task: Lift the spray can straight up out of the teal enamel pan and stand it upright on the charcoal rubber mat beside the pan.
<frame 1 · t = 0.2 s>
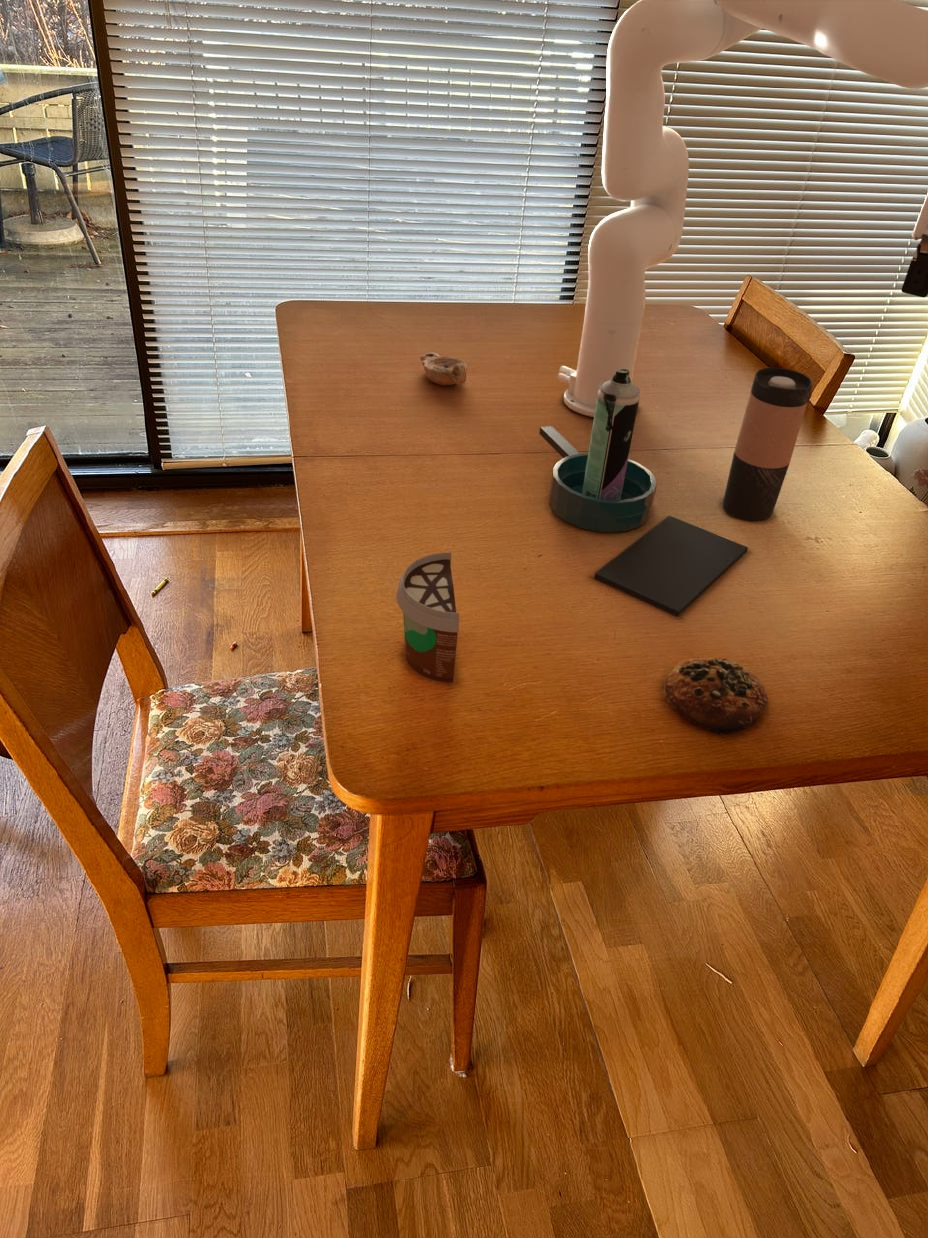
hand: (924, 286, 122), 31 cm above the table, tool pointing down, fingers open, 9 cm apart
pan: (599, 507, 133), on the table
oil lamp: (444, 382, 166), on the table
food container: (422, 656, 104), on the table
travel mug: (746, 510, 135), on the table
mat: (672, 564, 122), on the table
bread roll: (712, 701, 101), on the table
spray can: (599, 506, 133), resting on pan
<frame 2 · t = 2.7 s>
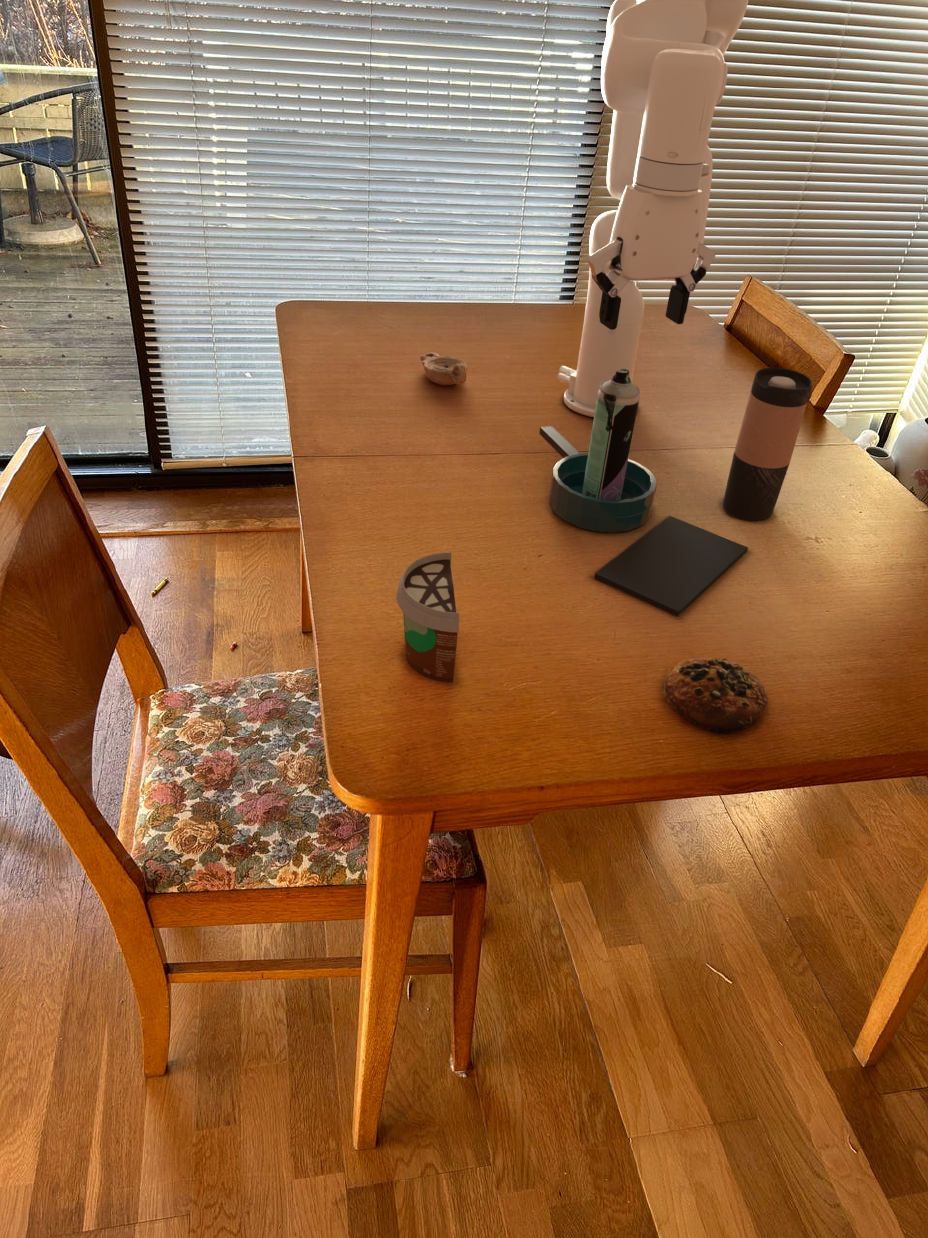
hand: (641, 323, 117), 27 cm above the table, tool pointing down, fingers open, 9 cm apart
nothing on the table moved.
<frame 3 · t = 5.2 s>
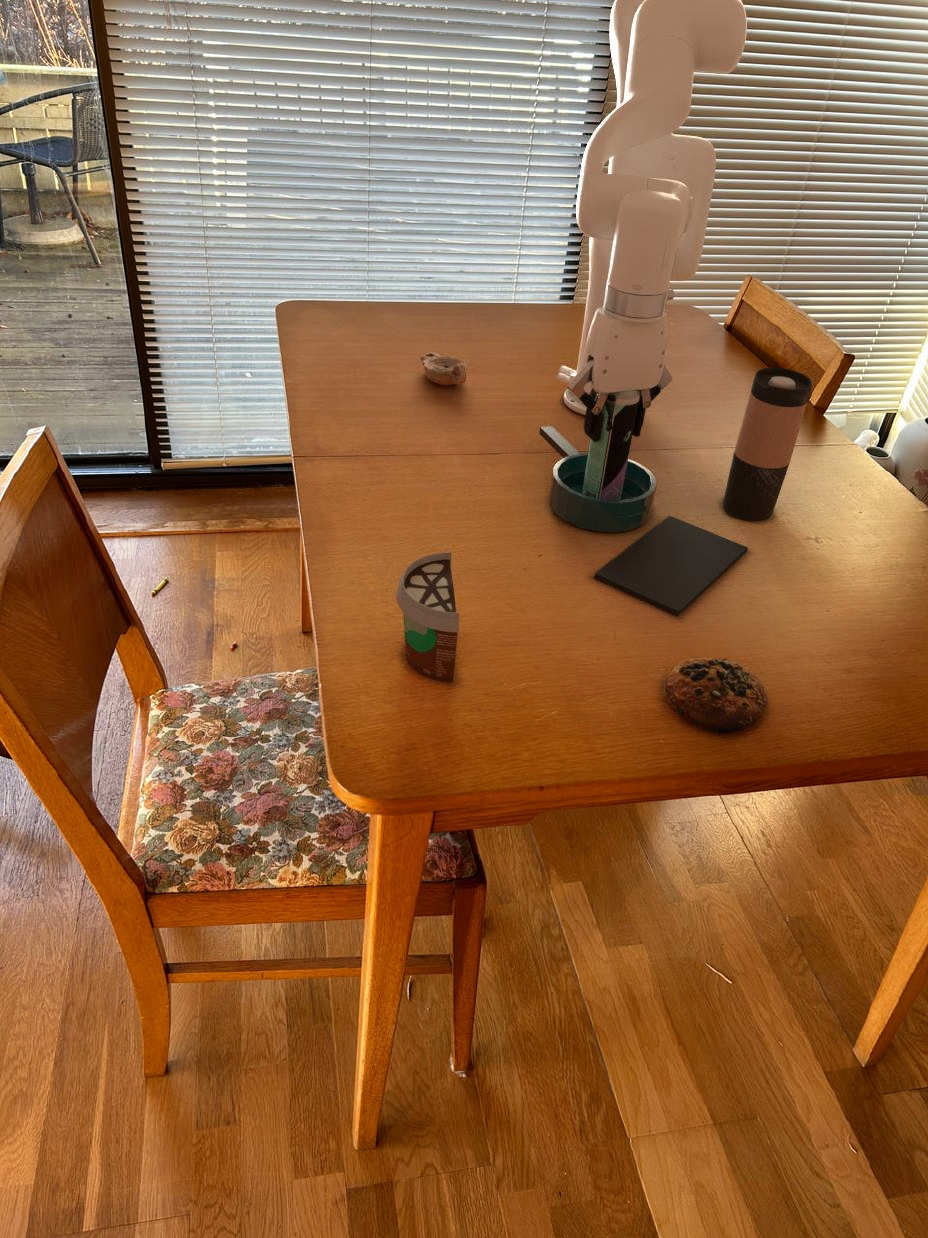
hand: (612, 433, 126), 12 cm above the table, tool pointing down, fingers closed on spray can, 5 cm apart
spray can: (599, 506, 133), resting on pan, touching gripper
everything else where it was.
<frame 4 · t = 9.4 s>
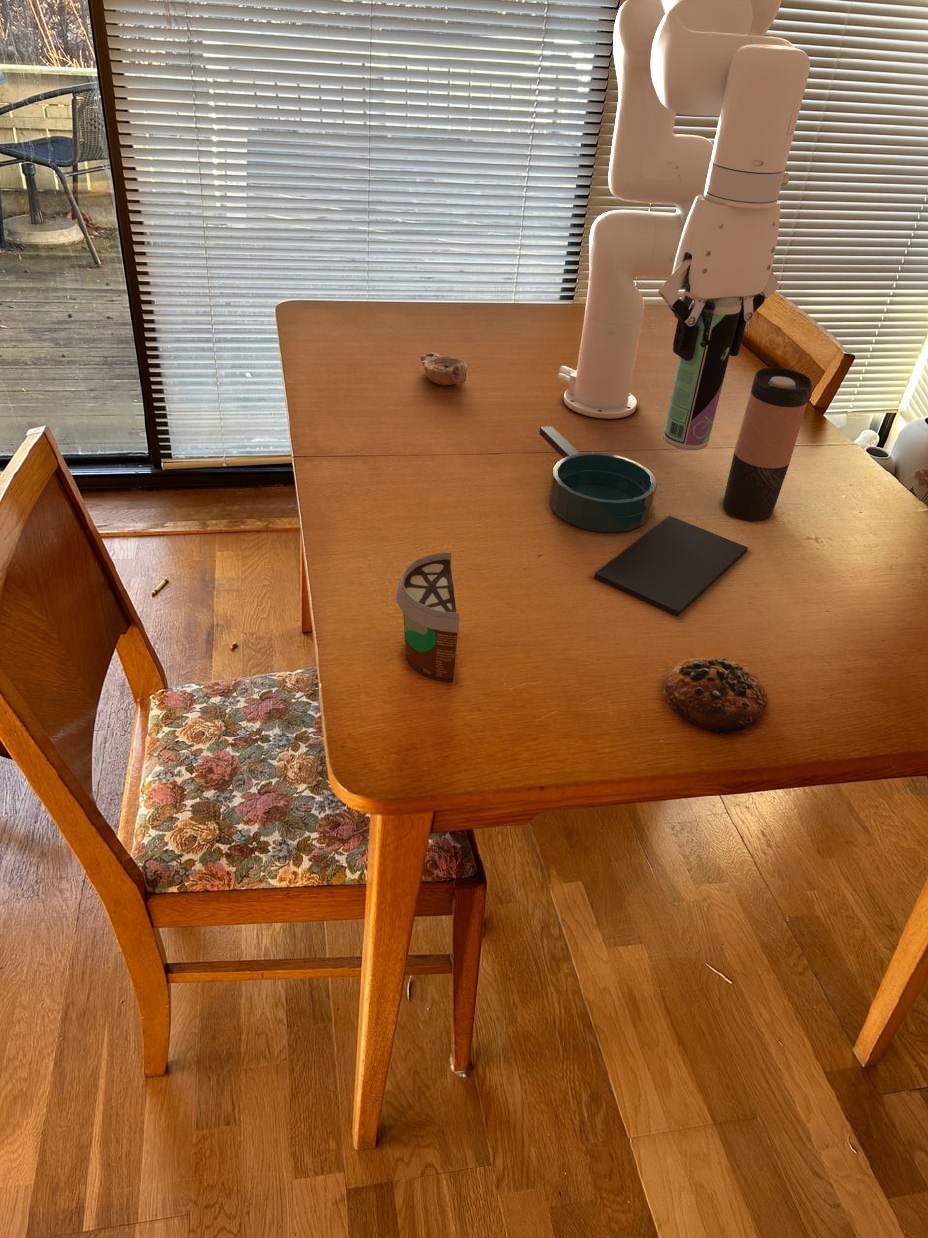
hand: (705, 352, 107), 28 cm above the table, tool pointing down, fingers closed on spray can, 5 cm apart
spray can: (685, 441, 114), point 16 cm above the table, touching gripper
everything else where it was.
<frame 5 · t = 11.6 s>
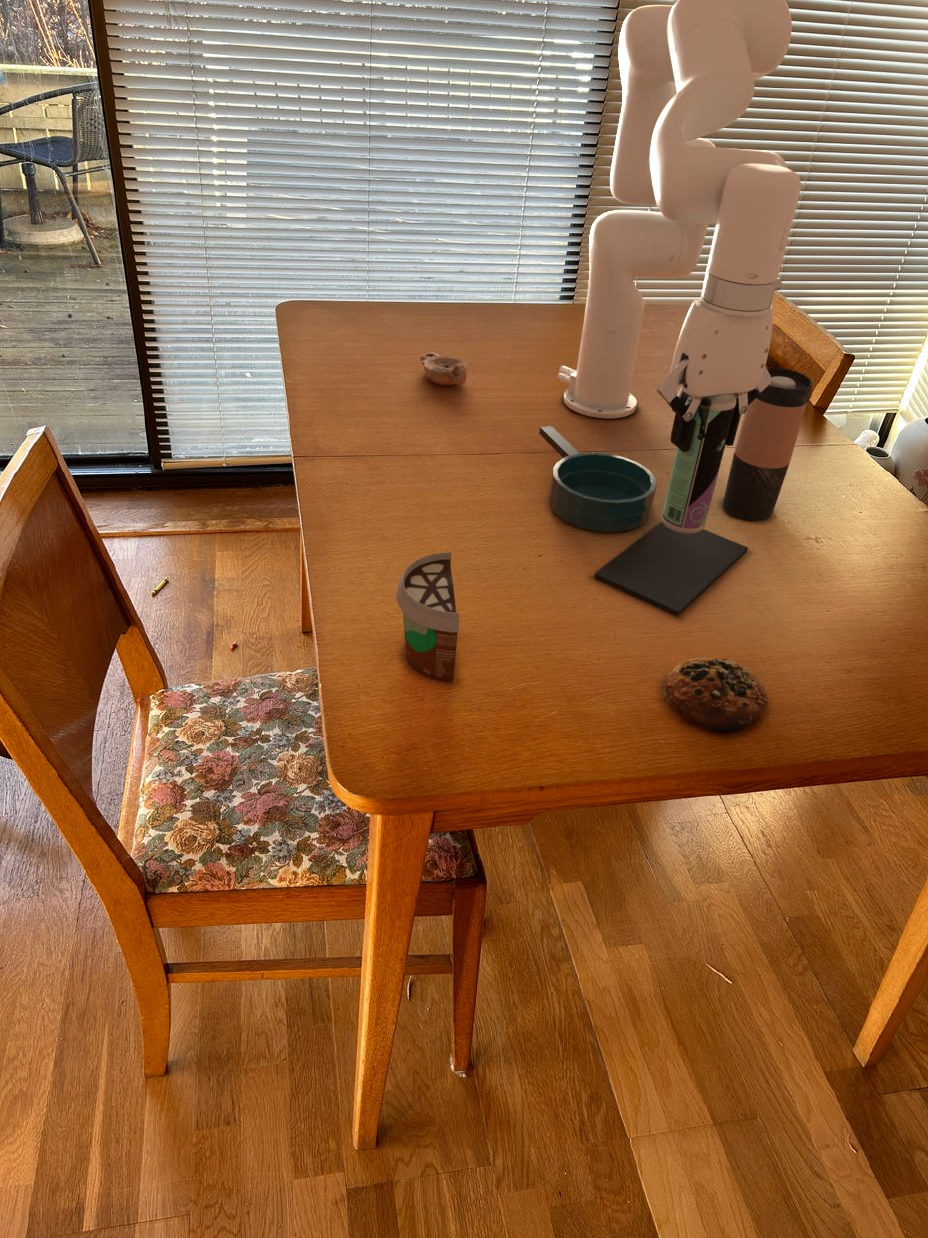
hand: (701, 442, 111), 18 cm above the table, tool pointing down, fingers closed on spray can, 5 cm apart
spray can: (682, 523, 118), point 6 cm above the table, touching gripper
everything else where it was.
when the fingers open (12 cm above the table, at t = 13.4 s): spray can stays where it is, resting on mat.
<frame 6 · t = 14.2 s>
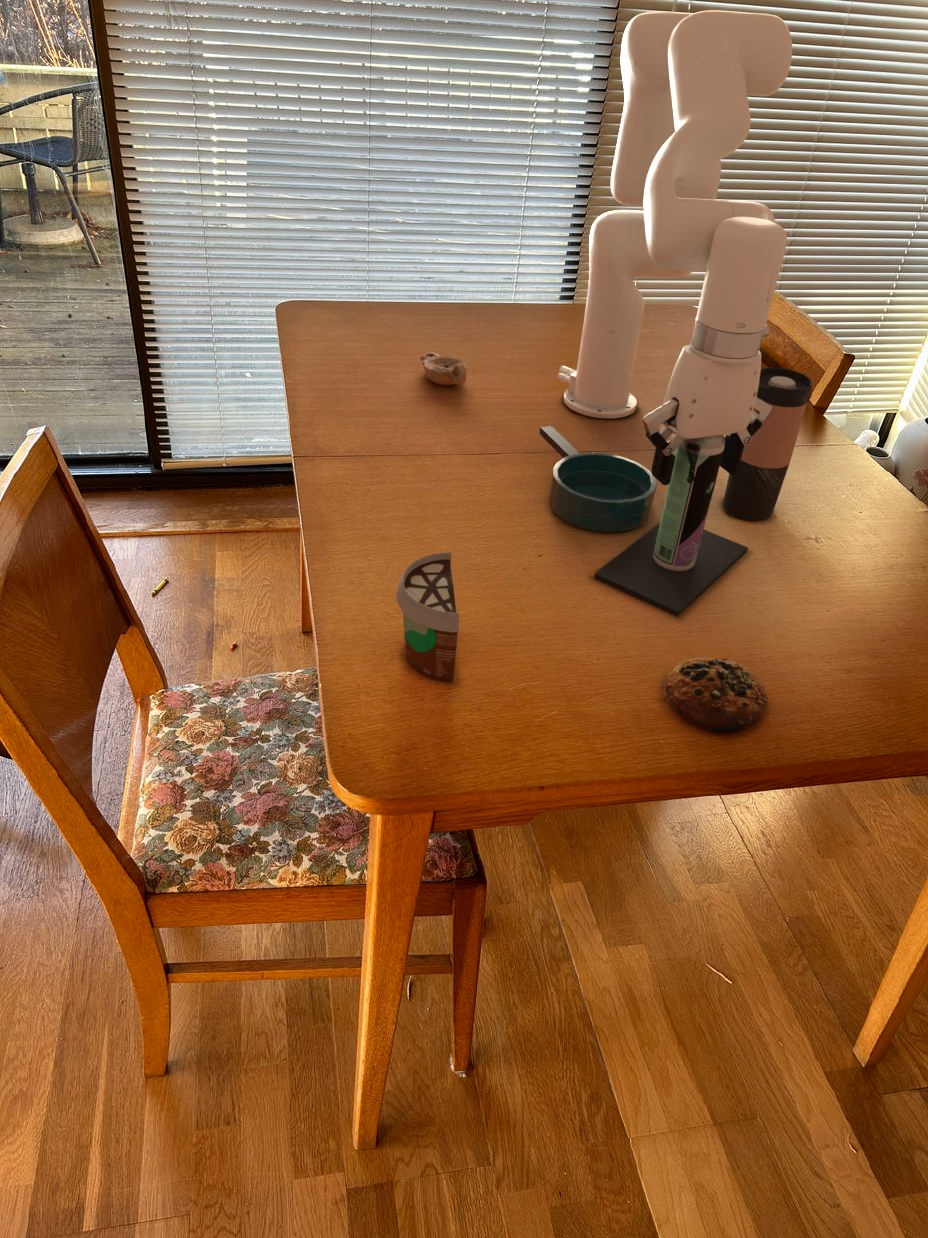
hand: (694, 474, 114), 13 cm above the table, tool pointing down, fingers open, 9 cm apart
spray can: (673, 560, 122), point 1 cm above the table, touching mat
everything else where it was.
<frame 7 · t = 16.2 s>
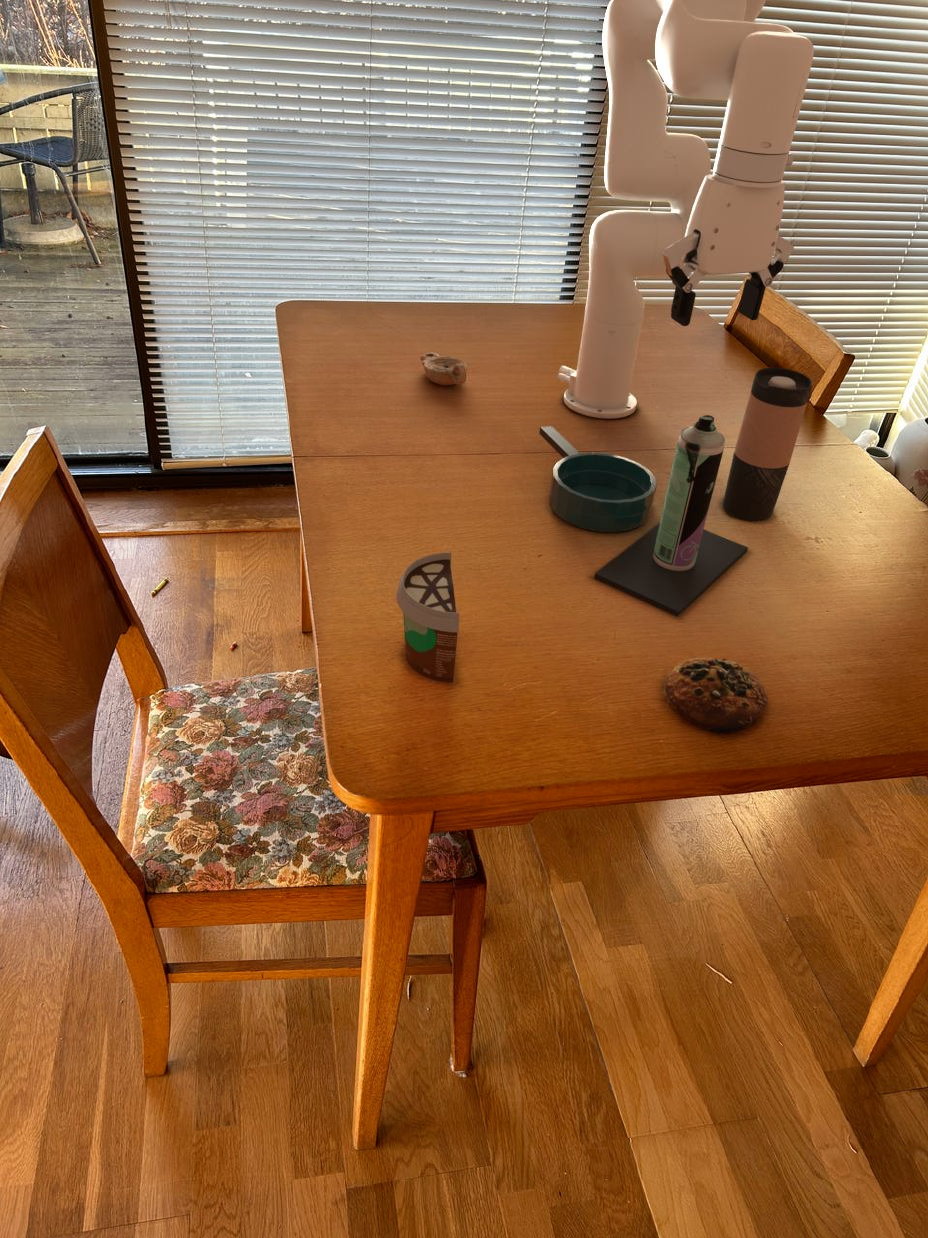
hand: (713, 318, 113), 29 cm above the table, tool pointing down, fingers open, 9 cm apart
nothing on the table moved.
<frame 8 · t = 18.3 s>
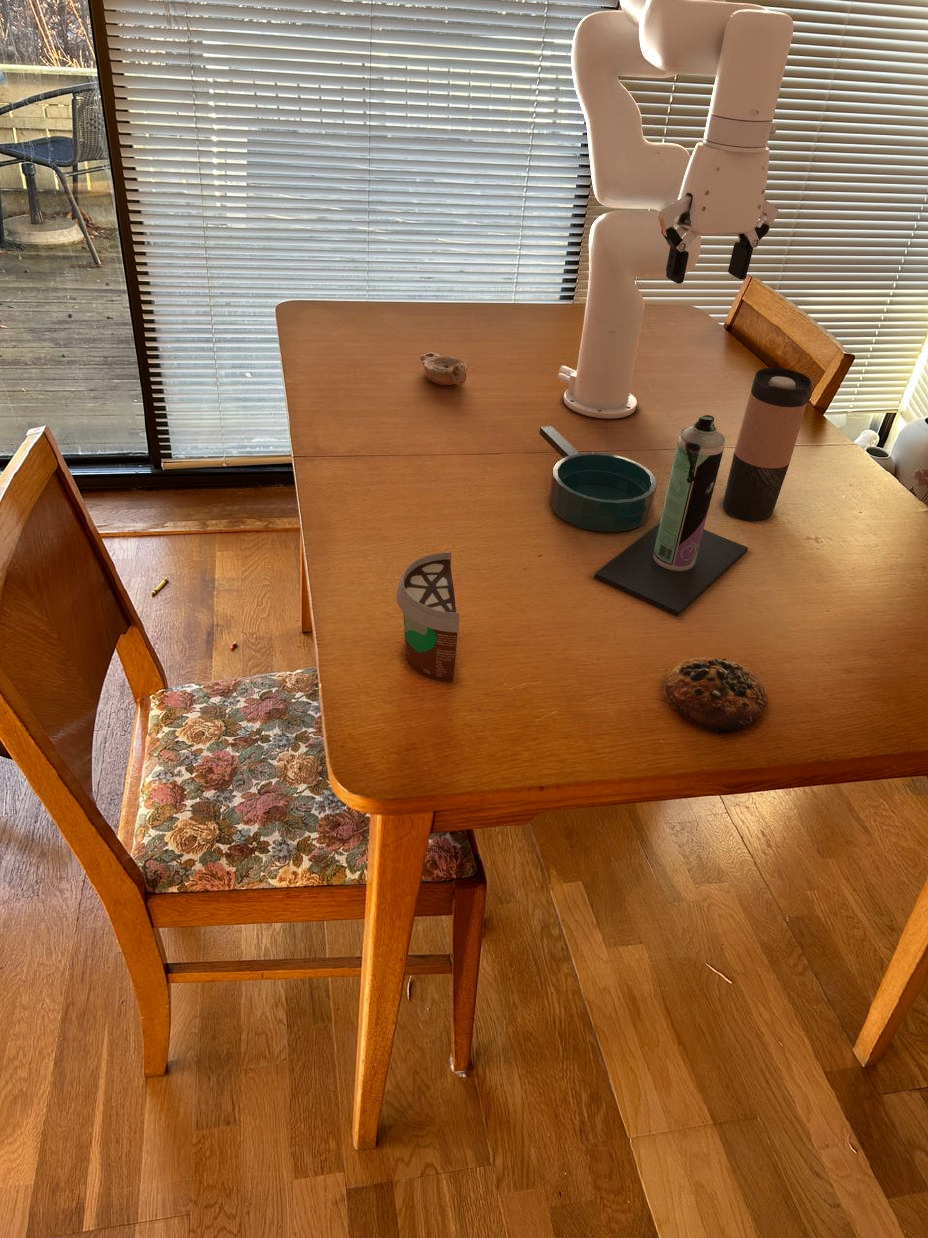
hand: (705, 278, 122), 30 cm above the table, tool pointing down, fingers open, 9 cm apart
nothing on the table moved.
at the end: spray can inside the target area on the mat (0.1 cm from its centre), point 0.6 cm above the mat's base; spray can tilted 0°; the gripper is holding nothing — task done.
